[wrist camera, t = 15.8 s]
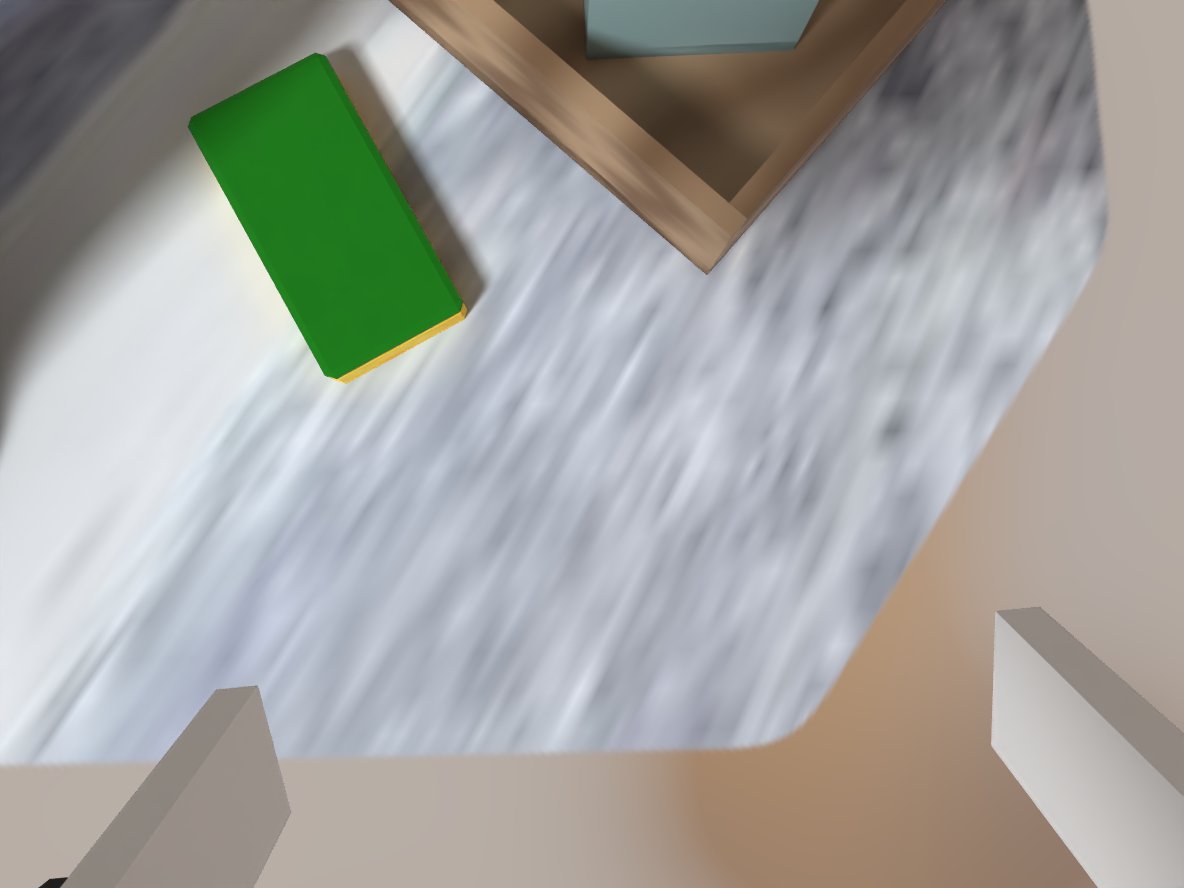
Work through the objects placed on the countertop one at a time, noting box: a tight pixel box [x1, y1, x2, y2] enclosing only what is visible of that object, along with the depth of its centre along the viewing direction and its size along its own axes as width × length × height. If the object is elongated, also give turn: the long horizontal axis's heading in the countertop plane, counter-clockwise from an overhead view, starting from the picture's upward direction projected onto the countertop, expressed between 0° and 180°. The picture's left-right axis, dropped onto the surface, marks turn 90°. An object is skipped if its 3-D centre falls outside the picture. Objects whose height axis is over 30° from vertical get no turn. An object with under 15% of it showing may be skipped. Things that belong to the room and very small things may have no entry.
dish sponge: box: [188, 53, 467, 384], centre depth 38 cm, size 7×14×2 cm, turn 29°
